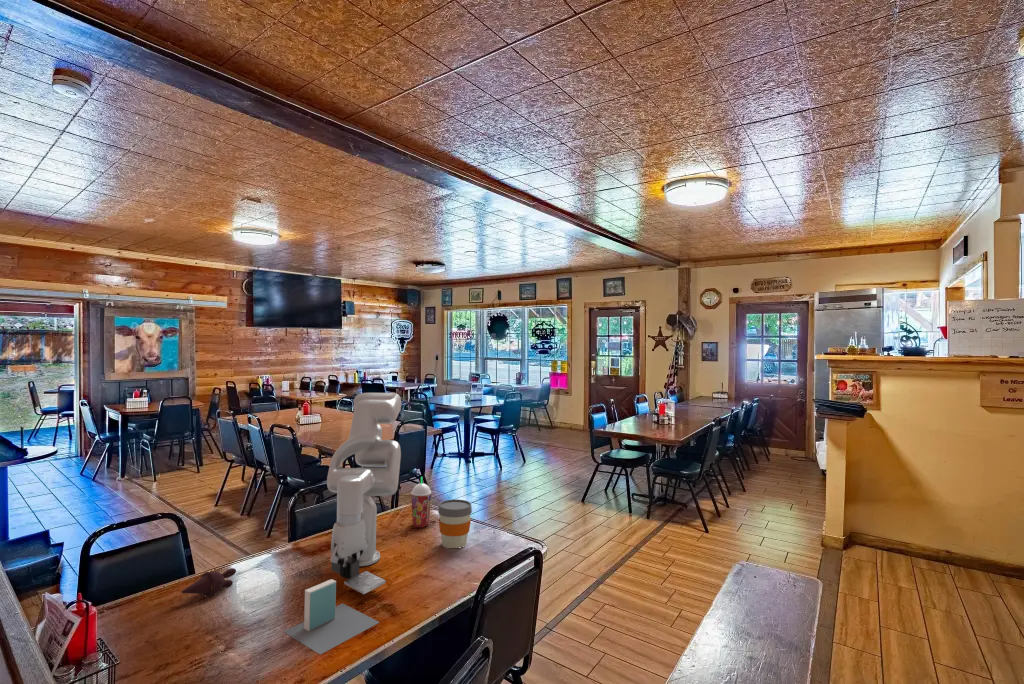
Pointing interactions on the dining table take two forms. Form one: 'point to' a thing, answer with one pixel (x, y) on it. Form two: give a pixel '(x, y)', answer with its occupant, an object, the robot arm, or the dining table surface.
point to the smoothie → (421, 504)
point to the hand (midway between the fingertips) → (349, 574)
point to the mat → (333, 629)
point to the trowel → (358, 577)
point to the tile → (319, 604)
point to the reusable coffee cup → (454, 522)
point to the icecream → (211, 583)
